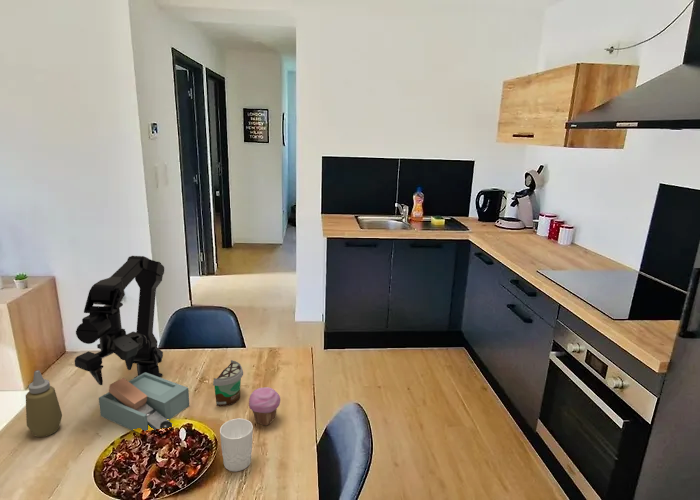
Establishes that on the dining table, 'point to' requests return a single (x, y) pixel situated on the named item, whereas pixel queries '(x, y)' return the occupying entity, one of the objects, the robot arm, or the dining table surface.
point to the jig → (159, 397)
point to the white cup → (236, 444)
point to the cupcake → (264, 404)
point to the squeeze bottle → (42, 407)
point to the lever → (152, 417)
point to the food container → (228, 385)
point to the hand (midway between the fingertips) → (115, 377)
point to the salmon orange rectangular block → (128, 393)
